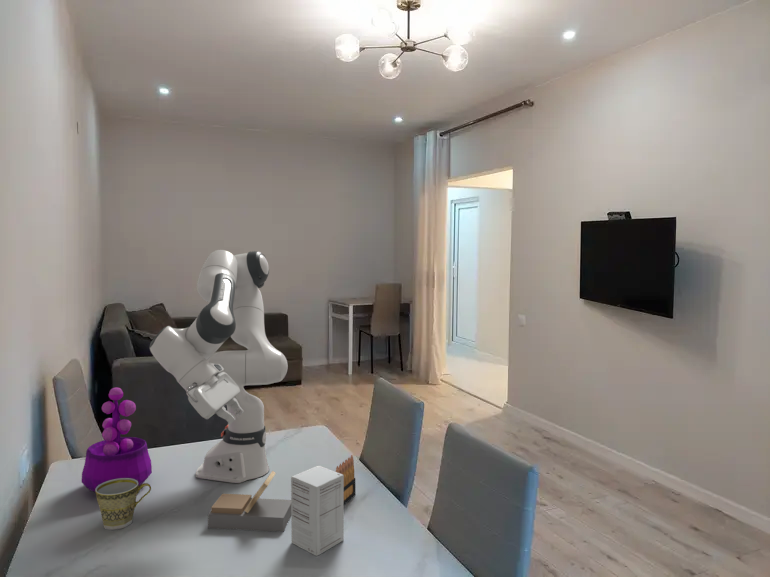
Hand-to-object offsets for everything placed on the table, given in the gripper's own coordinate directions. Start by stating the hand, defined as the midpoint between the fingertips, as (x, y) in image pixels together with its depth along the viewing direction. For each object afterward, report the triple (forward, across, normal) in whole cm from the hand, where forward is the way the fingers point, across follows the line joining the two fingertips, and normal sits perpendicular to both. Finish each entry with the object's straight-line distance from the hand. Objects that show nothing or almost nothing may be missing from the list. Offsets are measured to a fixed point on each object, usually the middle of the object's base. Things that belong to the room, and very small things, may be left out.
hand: (237, 417), depth 143 cm
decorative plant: (-10, +16, +49) cm, 52 cm away
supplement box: (+36, -9, +3) cm, 37 cm away
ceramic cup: (-1, -4, +40) cm, 40 cm away
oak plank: (+19, 0, +9) cm, 21 cm away
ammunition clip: (+38, +13, +1) cm, 40 cm away
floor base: (+22, 0, +17) cm, 28 cm away
